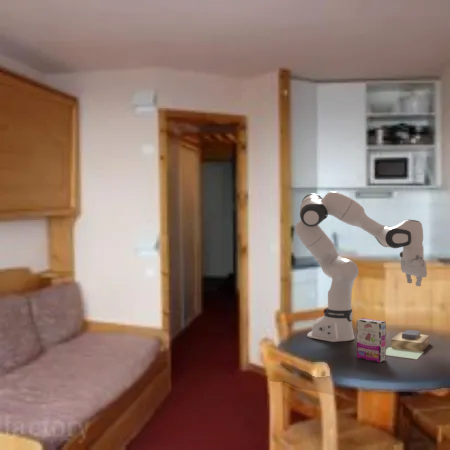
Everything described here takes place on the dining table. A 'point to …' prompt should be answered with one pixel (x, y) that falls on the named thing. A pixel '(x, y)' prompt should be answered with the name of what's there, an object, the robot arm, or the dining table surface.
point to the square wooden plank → (410, 342)
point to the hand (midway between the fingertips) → (413, 284)
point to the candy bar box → (371, 340)
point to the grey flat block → (411, 334)
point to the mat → (403, 353)
